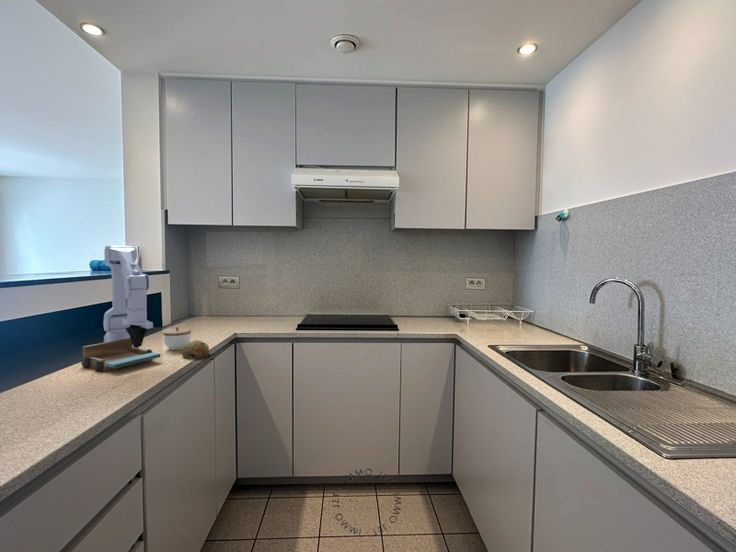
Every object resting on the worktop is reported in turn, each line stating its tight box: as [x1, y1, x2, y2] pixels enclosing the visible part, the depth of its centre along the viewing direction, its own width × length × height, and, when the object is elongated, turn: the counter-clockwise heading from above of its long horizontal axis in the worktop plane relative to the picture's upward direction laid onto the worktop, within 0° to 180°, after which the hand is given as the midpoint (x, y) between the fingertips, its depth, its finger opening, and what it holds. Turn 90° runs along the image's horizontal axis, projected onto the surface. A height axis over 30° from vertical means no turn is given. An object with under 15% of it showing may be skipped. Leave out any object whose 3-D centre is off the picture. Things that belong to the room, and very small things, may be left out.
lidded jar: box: [162, 326, 192, 351], centre depth 148 cm, size 11×11×9 cm
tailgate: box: [106, 352, 161, 369], centre depth 122 cm, size 1×16×5 cm
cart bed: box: [80, 338, 154, 373], centre depth 126 cm, size 14×18×7 cm
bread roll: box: [181, 339, 210, 360], centre depth 137 cm, size 10×10×8 cm
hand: (137, 346), depth 121 cm, fingers closed
